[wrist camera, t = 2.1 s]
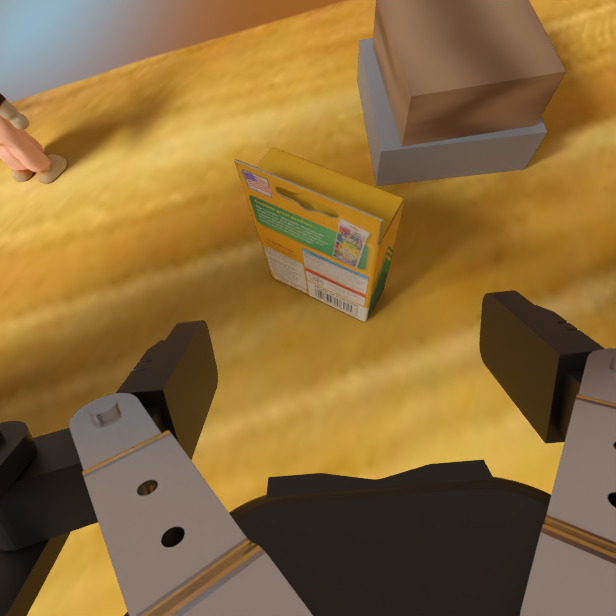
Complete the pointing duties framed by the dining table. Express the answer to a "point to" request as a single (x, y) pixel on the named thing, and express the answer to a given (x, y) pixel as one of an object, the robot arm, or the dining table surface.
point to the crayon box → (322, 230)
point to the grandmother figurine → (25, 148)
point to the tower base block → (440, 154)
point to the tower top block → (463, 66)
